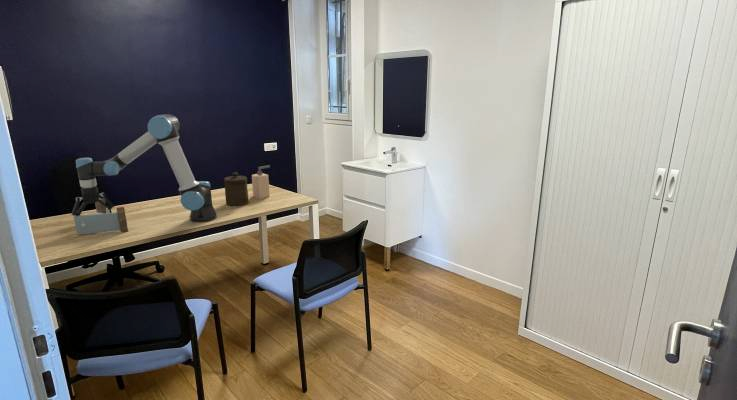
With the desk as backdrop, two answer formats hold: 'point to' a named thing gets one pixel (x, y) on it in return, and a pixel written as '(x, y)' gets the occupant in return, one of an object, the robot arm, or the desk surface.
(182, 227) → the desk surface
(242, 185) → the wooden container
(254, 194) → the soap dispenser
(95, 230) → the door
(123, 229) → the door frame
